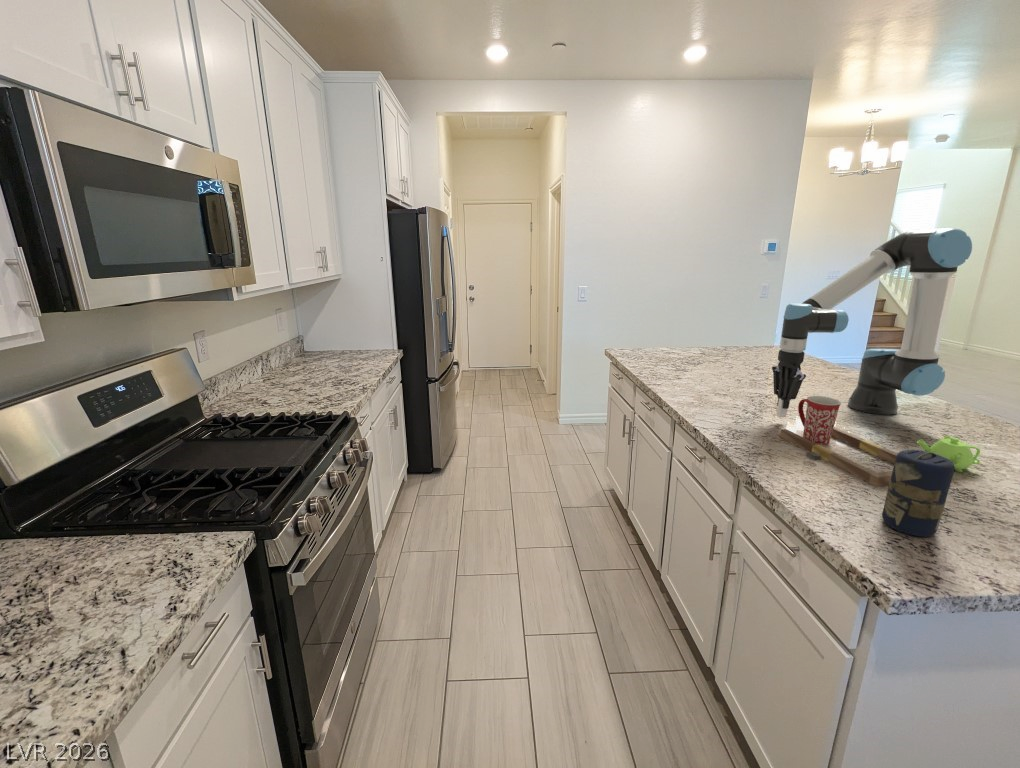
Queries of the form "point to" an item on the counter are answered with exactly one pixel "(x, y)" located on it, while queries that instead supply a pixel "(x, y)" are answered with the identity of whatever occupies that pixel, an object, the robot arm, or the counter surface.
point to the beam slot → (856, 469)
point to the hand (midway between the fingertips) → (781, 416)
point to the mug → (819, 418)
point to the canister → (917, 492)
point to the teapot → (953, 452)
